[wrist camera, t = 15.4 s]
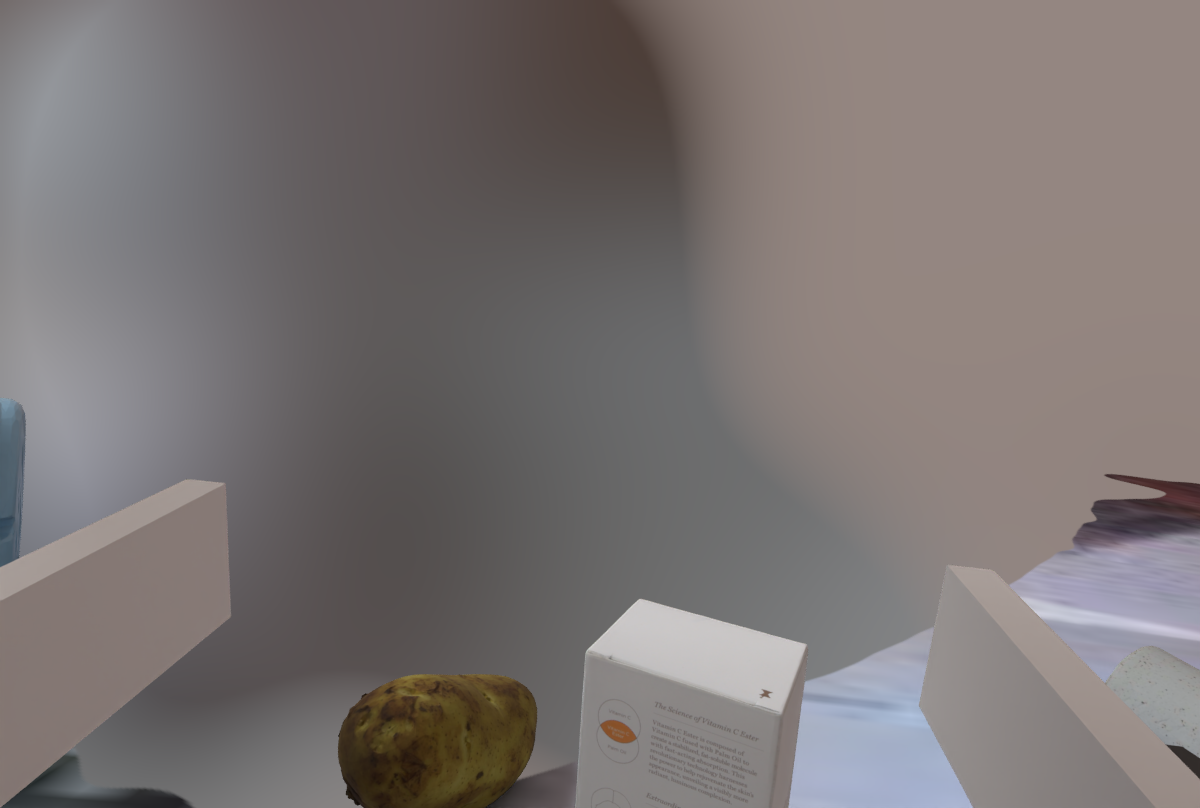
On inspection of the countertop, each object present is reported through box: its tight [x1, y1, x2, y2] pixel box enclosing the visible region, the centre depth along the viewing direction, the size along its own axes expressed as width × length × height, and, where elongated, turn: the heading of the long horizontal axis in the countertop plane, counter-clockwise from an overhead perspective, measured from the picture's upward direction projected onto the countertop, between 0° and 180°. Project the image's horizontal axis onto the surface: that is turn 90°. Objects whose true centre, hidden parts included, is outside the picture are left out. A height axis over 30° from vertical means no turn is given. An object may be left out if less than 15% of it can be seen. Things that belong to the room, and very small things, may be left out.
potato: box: [338, 674, 537, 808], centre depth 40 cm, size 8×13×8 cm, turn 127°
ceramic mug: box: [1105, 646, 1200, 758], centre depth 46 cm, size 11×8×8 cm
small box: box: [575, 599, 808, 808], centre depth 30 cm, size 8×6×10 cm
